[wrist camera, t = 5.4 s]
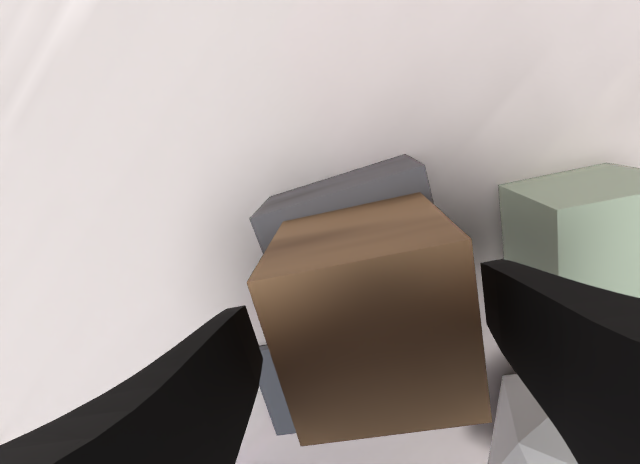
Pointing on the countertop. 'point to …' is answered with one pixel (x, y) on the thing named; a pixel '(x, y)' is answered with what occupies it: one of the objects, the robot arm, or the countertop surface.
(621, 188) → the sage cube
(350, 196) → the charcoal base block
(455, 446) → the countertop surface
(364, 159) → the countertop surface
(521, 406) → the pale gray rock
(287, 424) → the tile
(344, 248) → the walnut cube
